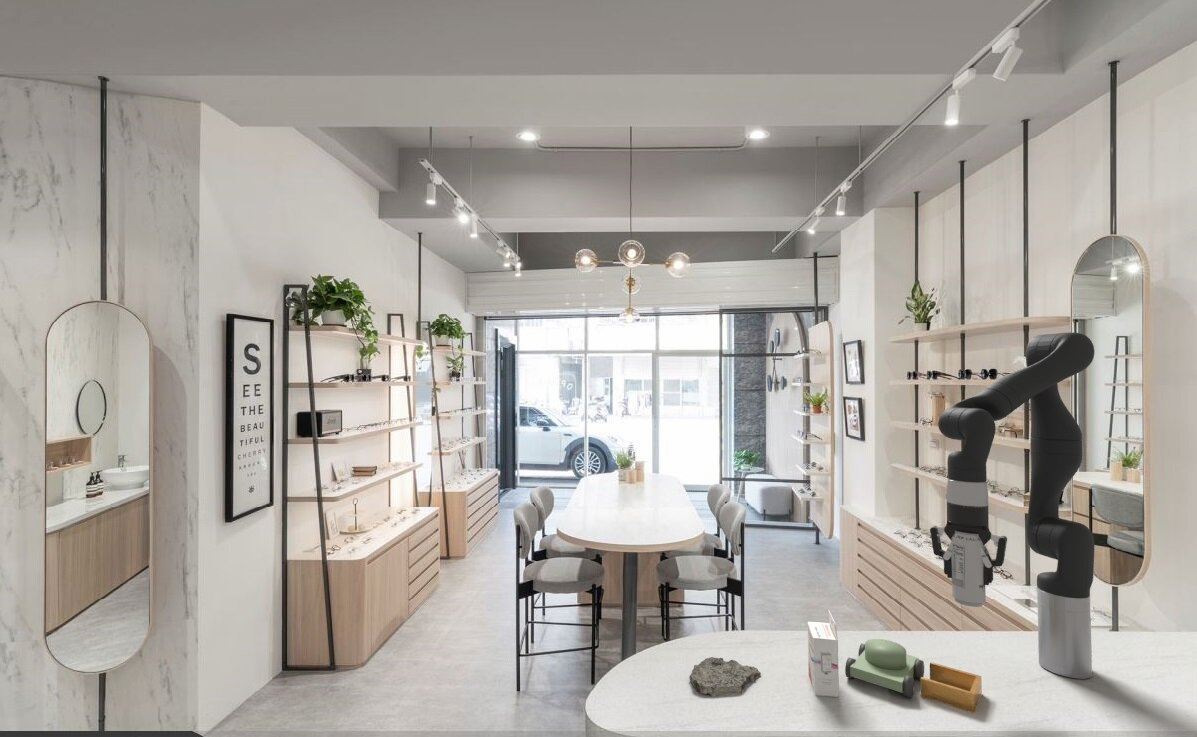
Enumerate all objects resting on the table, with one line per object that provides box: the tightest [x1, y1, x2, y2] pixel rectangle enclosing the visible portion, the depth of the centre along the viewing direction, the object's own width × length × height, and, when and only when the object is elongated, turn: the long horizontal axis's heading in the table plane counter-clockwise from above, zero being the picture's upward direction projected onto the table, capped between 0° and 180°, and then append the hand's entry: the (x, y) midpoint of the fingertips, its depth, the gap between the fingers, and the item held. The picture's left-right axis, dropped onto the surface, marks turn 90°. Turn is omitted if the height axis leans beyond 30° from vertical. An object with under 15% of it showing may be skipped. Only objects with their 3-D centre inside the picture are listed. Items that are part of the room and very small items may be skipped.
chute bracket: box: [920, 661, 983, 714], centre depth 116 cm, size 9×9×4 cm
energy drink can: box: [950, 531, 987, 608], centre depth 120 cm, size 6×6×15 cm
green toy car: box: [844, 638, 925, 699], centre depth 122 cm, size 14×12×6 cm
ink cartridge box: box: [807, 609, 840, 698], centre depth 119 cm, size 9×5×15 cm, turn 168°
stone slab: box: [689, 656, 761, 697], centre depth 122 cm, size 12×17×3 cm
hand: (968, 580), depth 120 cm, fingers closed on energy drink can, 6 cm apart
